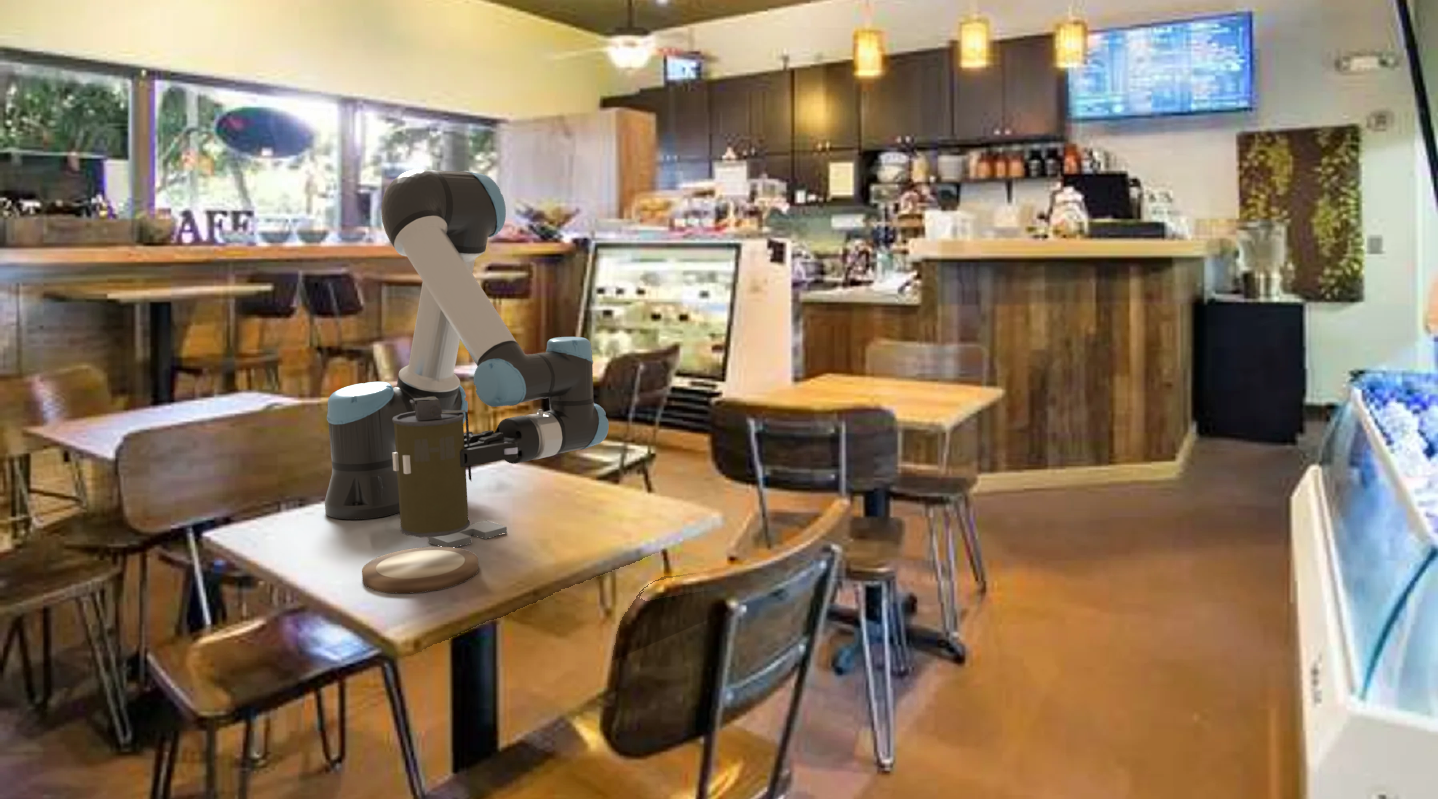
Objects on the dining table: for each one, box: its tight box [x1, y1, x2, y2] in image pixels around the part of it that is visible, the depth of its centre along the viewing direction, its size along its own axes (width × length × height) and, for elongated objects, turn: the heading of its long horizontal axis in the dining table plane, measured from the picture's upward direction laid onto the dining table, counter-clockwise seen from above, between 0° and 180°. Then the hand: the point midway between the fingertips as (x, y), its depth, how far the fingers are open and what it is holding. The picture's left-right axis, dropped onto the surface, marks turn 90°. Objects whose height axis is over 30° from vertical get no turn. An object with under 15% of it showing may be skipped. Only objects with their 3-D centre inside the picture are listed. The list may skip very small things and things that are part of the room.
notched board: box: [427, 519, 508, 548], centre depth 170 cm, size 6×12×1 cm, turn 138°
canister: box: [392, 397, 472, 538], centre depth 151 cm, size 11×10×20 cm
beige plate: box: [361, 546, 480, 595], centre depth 152 cm, size 17×17×2 cm
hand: (399, 463), depth 147 cm, fingers closed on canister, 2 cm apart
